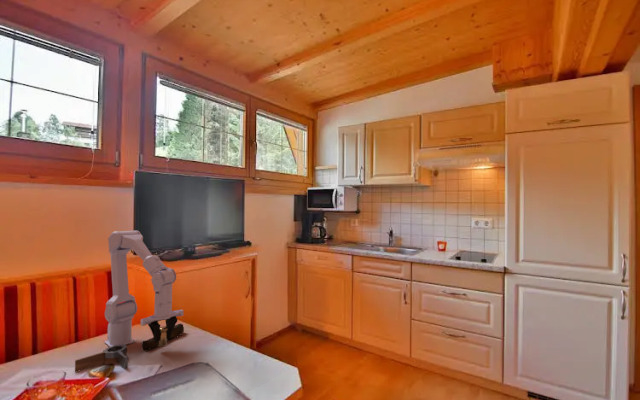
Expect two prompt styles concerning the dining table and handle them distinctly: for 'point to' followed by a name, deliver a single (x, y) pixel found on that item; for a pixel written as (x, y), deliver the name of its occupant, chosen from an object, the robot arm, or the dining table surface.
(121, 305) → the robot arm
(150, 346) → the hand tool
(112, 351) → the grey ring with handle
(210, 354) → the dining table surface
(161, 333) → the bronze pin
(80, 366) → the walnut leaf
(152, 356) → the dining table surface
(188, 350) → the dining table surface
